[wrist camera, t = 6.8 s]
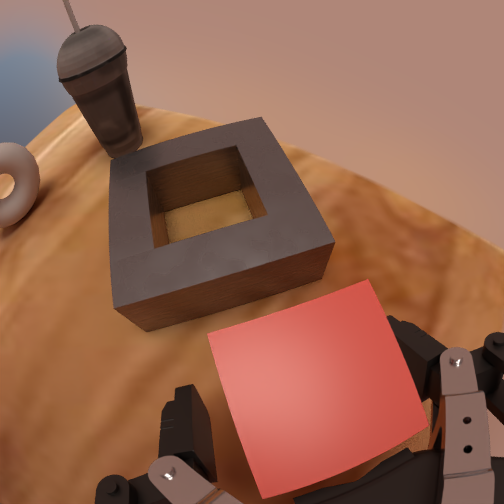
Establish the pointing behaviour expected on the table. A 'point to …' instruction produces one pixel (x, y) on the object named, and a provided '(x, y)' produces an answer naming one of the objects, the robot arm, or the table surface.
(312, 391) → the plug peg
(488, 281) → the table surface
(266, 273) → the square socket housing
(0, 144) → the donut
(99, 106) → the beverage cup
